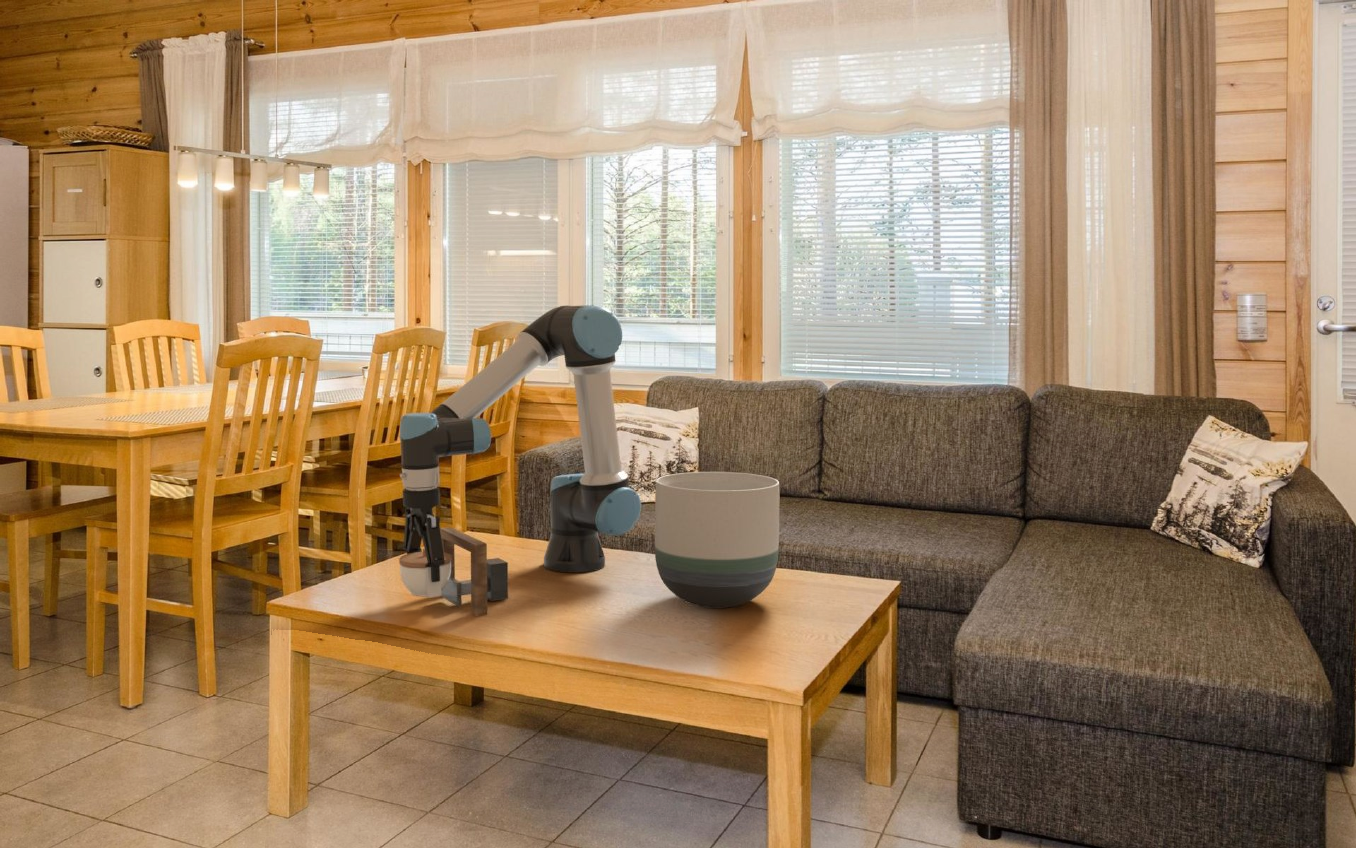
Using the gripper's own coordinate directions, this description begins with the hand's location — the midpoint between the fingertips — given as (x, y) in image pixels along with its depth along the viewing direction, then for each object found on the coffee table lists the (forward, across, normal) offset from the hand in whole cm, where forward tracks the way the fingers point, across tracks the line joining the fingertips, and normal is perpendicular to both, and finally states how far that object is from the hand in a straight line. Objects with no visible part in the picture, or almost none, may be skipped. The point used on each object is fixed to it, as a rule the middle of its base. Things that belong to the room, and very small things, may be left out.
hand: (424, 590), depth 229 cm
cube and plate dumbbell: (+4, 0, +11) cm, 12 cm away
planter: (+6, +28, +56) cm, 62 cm away
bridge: (+4, 0, +8) cm, 9 cm away
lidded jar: (+1, 0, 0) cm, 1 cm away
